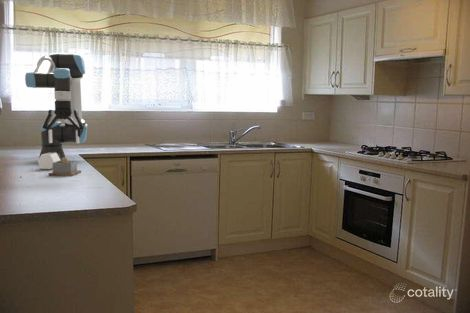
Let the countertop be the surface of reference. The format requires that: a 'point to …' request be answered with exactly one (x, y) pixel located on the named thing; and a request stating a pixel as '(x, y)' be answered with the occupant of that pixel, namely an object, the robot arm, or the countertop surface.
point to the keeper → (64, 160)
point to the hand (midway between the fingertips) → (64, 143)
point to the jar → (48, 160)
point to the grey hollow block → (64, 167)
